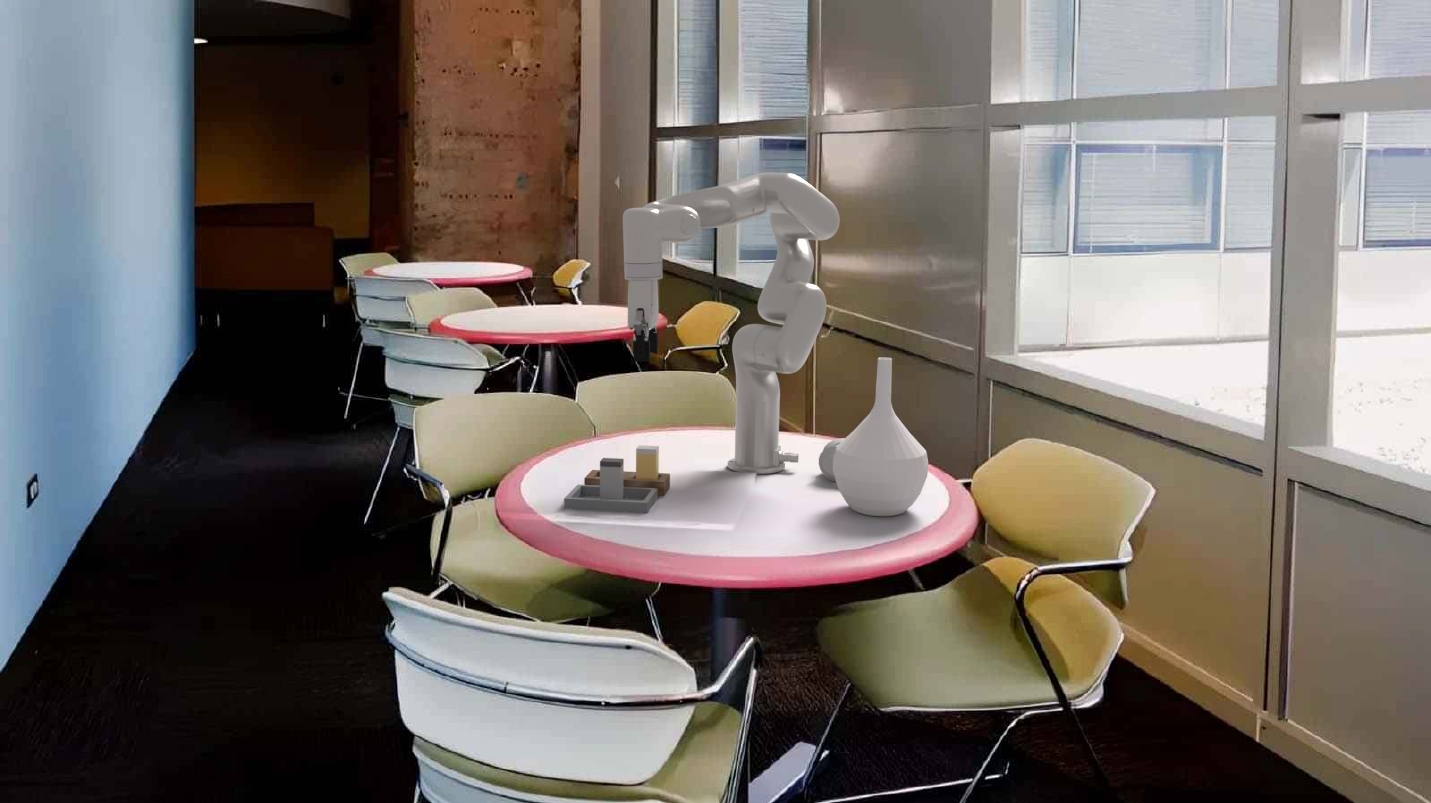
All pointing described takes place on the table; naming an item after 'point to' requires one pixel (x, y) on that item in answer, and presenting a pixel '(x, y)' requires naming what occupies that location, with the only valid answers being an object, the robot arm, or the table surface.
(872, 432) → the vase
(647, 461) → the block
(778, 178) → the robot arm
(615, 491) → the block
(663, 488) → the block
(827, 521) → the table surface
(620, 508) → the parts tray
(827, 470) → the headphones
